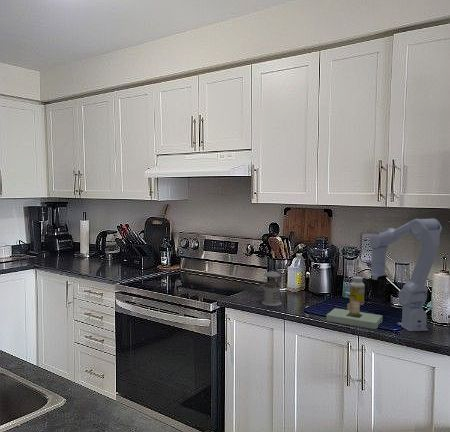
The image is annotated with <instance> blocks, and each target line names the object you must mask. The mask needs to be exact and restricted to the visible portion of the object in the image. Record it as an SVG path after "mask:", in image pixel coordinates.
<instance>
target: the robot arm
mask: <svg viewBox="0 0 450 432" xmlns="http://www.w3.org/2000/svg"><path fill="white" fill-rule="evenodd" d="M442 230H443V227H442V225H441V223H440V221H439V220H438V219H436V218H434V217H433V218H432V217H431V218H414V219H412V220H409V222H407V223H404V224H403V225H401V226H399V227H398V228H395V227H394V228H393V227H389V228H386V230H385V231H380V232H379V234H372V235H371V236H370V237H369V240H368V242H369V243H368V244H369V246H370V247H371V268H370V269H371V270H369V271H368V274H370V275H371V277H369V278H368V281H369V283H370V287H371V292H372V295H374V296H378V295H379V294H380V292H383V289H384V285H385V281H386V279H387V278H388V275H387V273H386V260H387V258H386V257H387V256H386V255H387V254H386V253H387V251H388V248H389V246H390V245H391V244H394V243H396V242H399V240H400V238H401V237H403V236H405V235H408V234H412V235H413V236H414V237H415V238H416V239H417V241H418V242H419V243H421V245H422V246H421V248H420V251H419V254H418V257H417V259H416V263H415V264H414V265H415V266H414V268H413V271H412V274H411V277H410V278H409V280H408V282H405V284H404V285H403V287H402V289H400V290H399V292H398V294H397V296H398V300H399V302H400V303H401V305H402V306H401V308H402V309H401V310H402V312H401V313H402V315H401V322H397V325H398V326H400V325H401V326H400V327H402V328H403V329H405V330H407V331H408V332H428V331H429V329H428V328H427V318H428V316H427V313H426V311H425V310H424V308H423V306H424V303H426V301H427V300H428V290H429V289H428V287H427V286H426V283H427V280H428V278H429V275H430V272H431V270H432V266H433V264H434V261H435V259H436V256H437V254H438V250H439V248H440V246H441V245H440V244H441V243H440V242H441V240H440V237H441V235H440V234H441V232H442Z"/></svg>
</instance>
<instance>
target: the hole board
mask: <svg viewBox="0 0 450 432" xmlns="http://www.w3.org/2000/svg"><path fill="white" fill-rule="evenodd" d="M349 312H350V310H347V309H344V308H343V309H342V308H336V307H334V308H333V309H332V310H331V311H329V312H328V313H327V314H326V317H325V320H326V322H330V323H336V324H337V323H338V324H343V325H348V326H354V327H361V328H366V329H373V330H377V329H378V328H379V326H380V325H381V324H382V323H383V317H384V316H383V315H381V314H375V313H371V312H370V313H368V312H362V311H360V314H359V318H356V317H350V316H349ZM380 323H381V324H380ZM379 324H380V325H379ZM378 325H379V326H378Z"/></svg>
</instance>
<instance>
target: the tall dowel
mask: <svg viewBox="0 0 450 432" xmlns="http://www.w3.org/2000/svg"><path fill="white" fill-rule="evenodd" d="M349 303H350V312H349V316H350V317H356V318H359V314H360V312H361V310H360V309H361V307H360V306H361V305H360V302H358V301H350V300H349Z"/></svg>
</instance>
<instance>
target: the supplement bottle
mask: <svg viewBox="0 0 450 432" xmlns="http://www.w3.org/2000/svg"><path fill="white" fill-rule="evenodd" d="M363 280H364V277H362V276H357V275H355V276H352V281H351V282H350V283H349V285H350V286H349V302H350V301H358V302H360V306H363V305H365V289H366V285H365V283H364V282H363Z"/></svg>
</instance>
